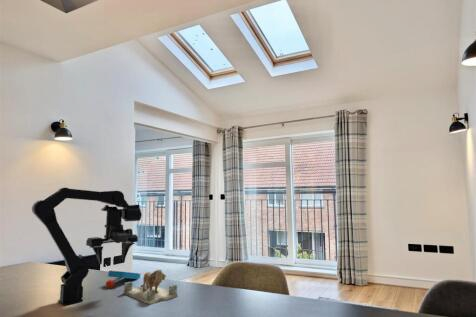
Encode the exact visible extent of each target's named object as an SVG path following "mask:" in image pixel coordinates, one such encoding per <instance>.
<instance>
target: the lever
mask: <svg viewBox="0 0 476 317" xmlns="http://www.w3.org/2000/svg"><path fill="white" fill-rule="evenodd" d="M107 277H111V278H112V277H113V278H115V279H108V280H107V281H106V282H105V287H106V289H112V288H114V287H115V283H117V282H118V281H120V280H121V279H134V280H139V279H141V273H138V272H128V271H119V270H118V271H117V270H108V274H107Z"/></svg>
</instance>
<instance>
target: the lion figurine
mask: <svg viewBox="0 0 476 317" xmlns="http://www.w3.org/2000/svg"><path fill="white" fill-rule="evenodd" d="M166 278H167V275H166V274H165V273H163V270H162V269H157V270H154V271H153V272H152V273H151V272H145V273H144V275H143V281H142V282H143V283H142V284H141V285H140V286H139V287H143V290H142V291H145V286H146V281H147V288H150V290H152V287H155V293H158V291H157V288H158V287H159V286H160V284H161V283H162V282H163V281H165V279H166Z"/></svg>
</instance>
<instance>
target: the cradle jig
mask: <svg viewBox="0 0 476 317" xmlns="http://www.w3.org/2000/svg"><path fill="white" fill-rule="evenodd" d="M123 285H124V287H123V288H124V289H123V294H124V295H127V296H129V297H131V298H134V299H135V300H136V299H137V300H138V301H141V302H144V303H146V304H148V305H152V304H154V303H158V302H162V301H163V302H164V301H166V300H170V299H173V298H177V297H178V285H177V284H171V285H168V289H165V288H163V287H159V286H158V288H157V291H158V293H155V287H152V290H150V288H147V281H146V284H145V291H142V290H143V287H140V286H139V287H133V282H132V281H128V282H124V284H123Z"/></svg>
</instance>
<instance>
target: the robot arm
mask: <svg viewBox="0 0 476 317" xmlns="http://www.w3.org/2000/svg"><path fill="white" fill-rule="evenodd" d="M66 199H71V200H83V201H84V200H86V201H96V202H100V203H104V204H105V205H104V206H103V207H102V208H101V209H100V211H101V212H106V218H105V219H106V220H105V223H106V224H104V228H105V234H104V236H103V238H102V237H99V236H95V237H88V238H87V240H86V242H85V244H86V245H85V246H88V247H89V248H91V249H92V250H93V251H94V254H95V256H96V259H97V261H98V264H99V265H102V264H103V249H104V246H102V245H103V244H110V243H116V244H121V260H122V262H124V261H125V259H126V258H127V254H128V252H129V250H130V248H131V247H132V246H133V245H135V244H136V243H137V242H139V237H138V235H137V234H133V229H132V228H126V229H124V225H123V224H122V222H123V221H122V220H124V222H139V221H141V219H142V211H141V206H140V204H132V205H131V204H129V203H128V202H127V200H126V199H125V195H124V192H122V191H120V190H105V191H97V190H95V191H94V190H86V189H77V188H68V187H61V188H59V189H58V190H57V191H55V192H54V193H53V194H51V195H49V196H48V197H46V198H45V199H42V200H40V199H39V200H37V201H35V202H34V203H33V205H32V207H31V210H32V213H33V214H34V215H35V217H36V218H37V219H38V220H39V221H40V222H41V223H42V224H43V225H44V226H45V228H46V230H47V232H49V235H50V236H51V238H52V240H53V242H54V243H55V246H56V247H57V249H58V250H59V252H60V254H61V256H62V257H63V259H64V263H65V267H66V272H64V273H63V274H62V275H61V277H60V279H61V283H63V284H60V289H59V290H60V291H59V292H60V293H59V294H60V295H59V299H58V300H57V302H58V303H60V304H61V305H62V306H67V305H71V304H76V303H81V302H83V301H84V299H83V297H84V286H83V281H84V279H85V278H86V277H87V276H88V274H89V272H90V269H89V267H90V265H89V264H88V263H87V262H86V259H85V256H83V255H82V254H78V255H77V254H76V252H75V250H74V249H73V246H72V245H71V243H70V241H69V239H68V238H67V236H66V235H65V233H64V231H63V229H62V227H61V225H60V224H59V222H58V220H57V219H58V218H57V215H56V211H55V208H56V207H57V206H59V205H60V204H61V203H63V202H64V201H65V200H66Z"/></svg>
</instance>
